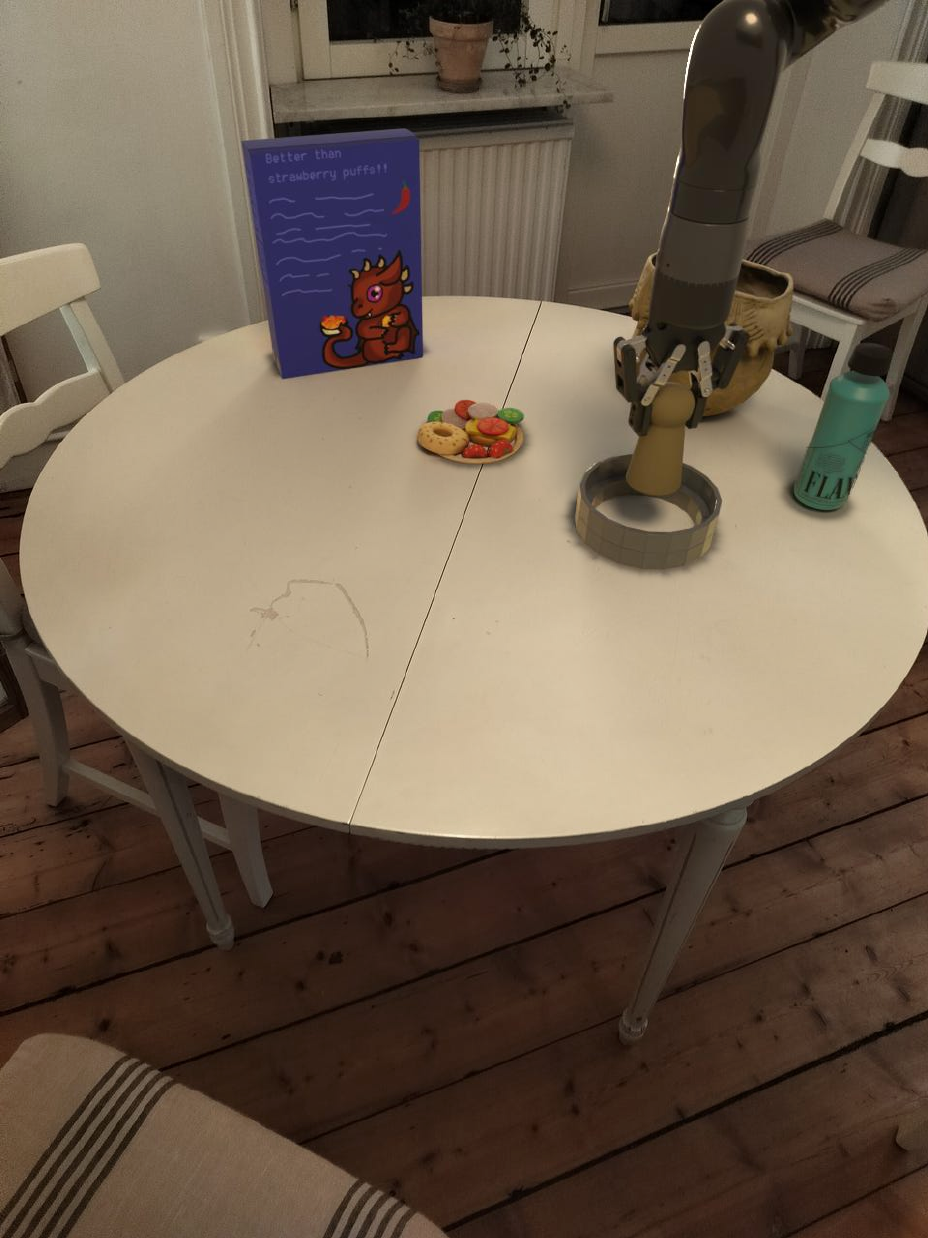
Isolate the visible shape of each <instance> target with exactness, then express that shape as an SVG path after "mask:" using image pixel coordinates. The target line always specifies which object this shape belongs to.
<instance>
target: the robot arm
mask: <svg viewBox="0 0 928 1238" xmlns="http://www.w3.org/2000/svg"><path fill="white" fill-rule="evenodd" d="M890 2H892V0H722V1H721V2H720V3H719V4H717V5H716V6H715V7H714V8H712V9H711V10H710V11H709V13H707V15H706V16H705V17H704V18H703V20H702V22H700V25H699V27H698V28H697V30H696V31H695V35H694V38H693V41H692V44H691V47H690V52H689V56H688V62H687V67H686V74H685V81H684V90H683V100H682V115H681V131H680V132H681V133H680V147H679V150H678V151H679V152H678V155H677V160H676V163H675V168H674V172H673V179H672V184H671V190H670V197H669V200H668V201H669V202H668V207H667V210H666V211H667V212H666V216H665V219H664V222H663V225H662V229H661V232H660V237H659V241H658V246H657V247H658V249H657V251H656V253H657V256H656V265H655V271H654V277H653V282H652V288H651V294H650V300H649V306H648V311H649V318H648V322H647V324H646V326H645V328H644V329H643V331H642V333H641V335H640V336H637V337H634V338H632V337H631V338H628V339H625V337H623V336H617V337H616V338H615V339H614V340H613V343H612V347H613V362H614V363H613V366H614V379H615V390H616V391H617V392H618V393H619V394H620V395H621V396H622V397H623V399H625V401H626V402H627V403H630V409H629V414H628V415H629V416H628V419H627V420H628V422H627V423H628V426H629V427H630V428H631V429H632V432H634V433H635V434H636V435H637V437H638V438H639V437H641V436H646V435H647V432H648V427H649V421H650V416H651V411H652V406H653V405H652V404H651V402H652V401H653V399H654V397H655V395H656V393H657V392H658V390H659V388H660V387H663V386H664V385H665V384H666V382H667V380H668V378H669V376H670V375H671V374H673V373H676V372H679V371H681V370H683V371H688V372H689V378H690V384H691V385H692V387H691V388H689V389H690V390H691V391H692V393H693V395H694V398H695V407H694V411H693V413H692V415H691V417H690V419H689V420H687V421H686V424H685V428H687V429H688V430H693V429H697V428H698V424H699V423H701V421H702V419H703V417H704V416H703V414H704V409H705V405H706V401H707V397H708V396H709V395H710V394H711V393H712V391H713V390H715V389H717V388H720V389H725V388H726V387H727V386H728V385H729V383H730V381H731V379H732V376H733V374H734V372H735V370H736V367H737V365H738V363H739V361H740V359H741V356H742V354H743V352H744V350H745V348H746V345H747V343H748V341H749V339H750V334H749V333H748V332H746V331H745V330H744V329H743V328H742V327H741V326H739V325H737V324H736V323H730V324H729V325H728V326H727V325H725V321H726V320H727V318H728V316H729V313H730V309H731V305H732V301H733V297H734V293H735V288H736V284H737V280H738V276H739V272H740V267H741V263H742V259H744V255H745V251H746V246H747V241H748V234H749V232H748V231H749V223H750V217H751V214H752V209H753V205H754V201H755V197H756V192H757V188H758V183H759V180H760V175H761V170H762V163H763V149H762V145H763V140H764V138H765V133H766V130H767V126H768V122H769V118H770V114H771V110H772V107H773V102H774V99H775V95H776V92H777V88H778V85H779V81H780V79H781V75H782V73H783V72H784V71H785V70H787V69H788V68H789V67H790V66H792V65H793V64H794V63H796V62H797V61H798V60H800V59H801V58H802V57H804V56H805V55H807V54H808V53H809V52H811V51H812V50H813V49H814V48H816V47H817V46H819V45H820V44H821V43H823V42H825V41H826V40H827V39H828V38H830V37H831V36H832V35H833V34H835V33H836V32H837V31H839V30H840V29H842V28H844V27H847V26H850V25H853V24H856V23H857V22H860V21H861V20H863V19H865V18H867V17H869V16H870V15H871V14H874V13H875V12H876V11H878V10H880V9H881V8H883V7H884V6H885V5H886V3H890ZM719 343H720V344H719ZM718 344H719V347H718V349H717V351H716V354H715V356H714V358H713V361H712V363H711V359H710V353H711V352H712V351H713V350H714V349H715V347H716V346H717V345H718ZM644 348H645V349H646V351H647V354H646V356H645V358H644V359H643V361H642V363H641V365H640V368H639V371H640V373H639V375H638V377H637V371H636V362H639V361H640V354H641V351H642V350H643V349H644ZM655 366H657V367H658V368H659V370H658V372H657V371H656V370H655ZM723 366H724V367H723ZM722 368H723V369H722ZM721 370H722V371H721Z"/></svg>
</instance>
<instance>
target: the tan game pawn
mask: <svg viewBox="0 0 928 1238" xmlns="http://www.w3.org/2000/svg"><path fill="white" fill-rule="evenodd" d="M651 404H652V405H653V406H652V411H651V416H650V421H649V427H648V432H647V435H646V436H641V437H639V436H638V439H637V442H636V444H635V447H634V451H633V453H632V454H633V456H632V459H631V462H630V465H629V468H628V471H627V474H626V481H627V482H628V484H629V485H630V486H631V487H632V488H634V489H635V490H637V491H639V492H641V493H644V494H649V495H658V496H661V495H668V494H671V493H674V492H676V491H677V490H678V489H679V488H680V485H681V478H682V465H683V463H684V452H685V449H684V448H685V436H686V426H685V424H686V421H687V420H689V419H690V417H691V415H692V413H693V411H694V407H695V398H694V395H693V393H692V391H691V390H690V389H689V388H687V387H686V386H684V385H682V384H679V383H675V382H666V384H665V385H664V386H663V387H660V388H659V390H658V392H657V393H656V395H655V397H654V399H653V401H652V402H651Z"/></svg>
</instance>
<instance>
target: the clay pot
mask: <svg viewBox="0 0 928 1238" xmlns="http://www.w3.org/2000/svg"><path fill="white" fill-rule="evenodd" d="M656 256H657V252H655V253H652V254H650V255H648V257H647V260H646V262H645V264H644V267H643V269H642V272H641V275H640V278H639V281H638V283H637V286H636V289H635V290H634V294H633V296H632V298H631V299H630V300H629V303H628V307H629V309H630V310H631V318H632V320H633V321H634V322H635V321H636V322H637V323H636V327H635V329H634V331H633V334H632V336H631V338H634V337H637V336H640V335H641V333H642V331H643V329H644V328H645V326H646V324H647V322H648V318H649V311H648V306H649V300H650V294H651V288H652V282H653V277H654V271H655V265H656ZM793 293H794V279H793V276H791V274H790V273H787V272H781V271H779V270H776V269H774V268H771V267H769V266H766V265H763V264H759V263H756V262H753V261H750V260H747V259H744V258H743V259H742V263H741V267H740V272H739V276H738V280H737V284H736V288H735V293H734V297H733V301H732V305H731V309H730V313H729V316H728V318H727V320H726V321H725V325H727V326H728V325H729V324H730V323H736V324H737V325H739V326H741V327H742V328H743V329H744V330H745V331H746V332H748V333H749V334H750V339H749V341H748V343H747V345H746V348H745V350H744V352H743V354H742V356H741V359H740V361H739V363H738V365H737V367H736V370H735V372H734V374H733V376H732V379H731V381H730V383H729V385H728V386H727V387H726V388H725V389H720V388H717V389H715V390H713V391H712V393H711V394H710V395H709V396H708V397H707V401H706V405H705V409H704V414H703V417H709V416H716V415H720V414H724V413H726V412H729V411H731V410H734V409H735V408H737V407H739V406H740V405H742V404H743V403H745V402H746V401H747V400H748V399H750V398H751V397H752V396H753V395H754V394H755V393H756V392H758V391H759V390H760V388H761V387H762V386H763V384H764V383H765V382H766V381H767V379H768V378H769V377H770V374H771V373H772V371H773V370H772V369H773V366H774V359H775V352H776V350H777V349H778V345H779V346H784V345H785V344H787V343H788V337H792V335H793V333H794V330H793V328H792V326H791V312H792V307H793V297H794V296H793V295H794V294H793ZM719 344H720V343H719ZM719 344H718V345H717V346H716V347H715V349H714V350H713V351H712V352H711V353H710V359H711V363H712V361H713V358H714V356H715V354H716V351H717V349H718V347H719ZM646 354H647V351H646V349H645V348H644V349H643V350H642V351H641V354H640V361H639V362H636V371H637V377H638V375H639V373H640V371H639V368H640V365H641V363H642V361H643V359H644V358H645V356H646ZM723 367H724V366H723ZM722 369H723V368H722ZM655 370H656V371H657V372H658V370H659V368H658V367H657V366H655ZM721 371H722V370H721ZM667 382H675V383H679V384H682V385H684V386H686V387H687V388H691V387H692V385H691V384H690V378H689V372H688V371H683V370H681V371H679V372H676V373H673V374H671V375H670V376H669V378H668V380H667Z"/></svg>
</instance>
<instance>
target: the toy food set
mask: <svg viewBox="0 0 928 1238" xmlns="http://www.w3.org/2000/svg"><path fill="white" fill-rule="evenodd" d="M524 419H525V413H523V411H521V410H520V409H518V408H515V407H504V408H500V409H498V407H497V406H496V405H494V404H492V403H489V402H476V401H474V400H471V399H461V400H459V401H457V402H456V403H455V404H454V408H448V409H446V410H444V411H443V410H433V411H430V412H429V413H428V415H427V422H426V423H423V424H422V425H421V426H420V427H419V428H418V431H417V436H416V440H417V443H418V444H419V445H420V446H421V447H423V449H426V450H428V451H429V452H433V453H435V454H437V455H438V456H440V457H442V458H445V459H446V460H449V461H452V462H455V463H461V464H465V465H466V464H467V465H484V464H485V465H486V464H492V463H496V462H500V461H503V460H506V459H508V458H510V457H512V455H514V454H515V453H517V452H518V451H519V449H520V448H521V447H522V445H523V442H524V433H523V430H522V429H521V427H520V426H519V425H518V424H520V423H522V421H523V420H524ZM513 441H514V443H513V445H512V444H511V443H512V442H513ZM470 443H471V444H470ZM469 444H470V445H469ZM486 448H489V449H488V450H487V449H486ZM458 455H461V456H458Z"/></svg>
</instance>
